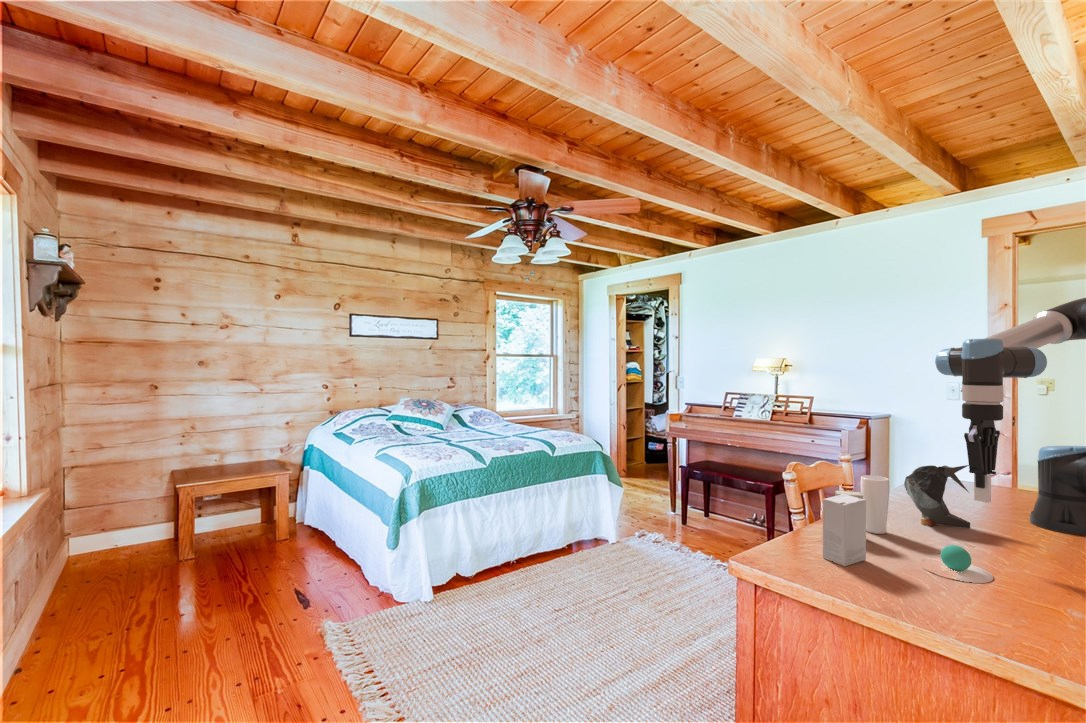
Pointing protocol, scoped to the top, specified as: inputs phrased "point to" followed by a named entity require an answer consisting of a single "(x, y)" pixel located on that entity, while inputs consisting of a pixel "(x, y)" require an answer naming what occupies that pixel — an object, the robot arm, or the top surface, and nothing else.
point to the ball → (955, 557)
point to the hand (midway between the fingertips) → (982, 500)
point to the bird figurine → (933, 494)
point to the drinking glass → (875, 502)
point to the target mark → (974, 575)
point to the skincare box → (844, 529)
